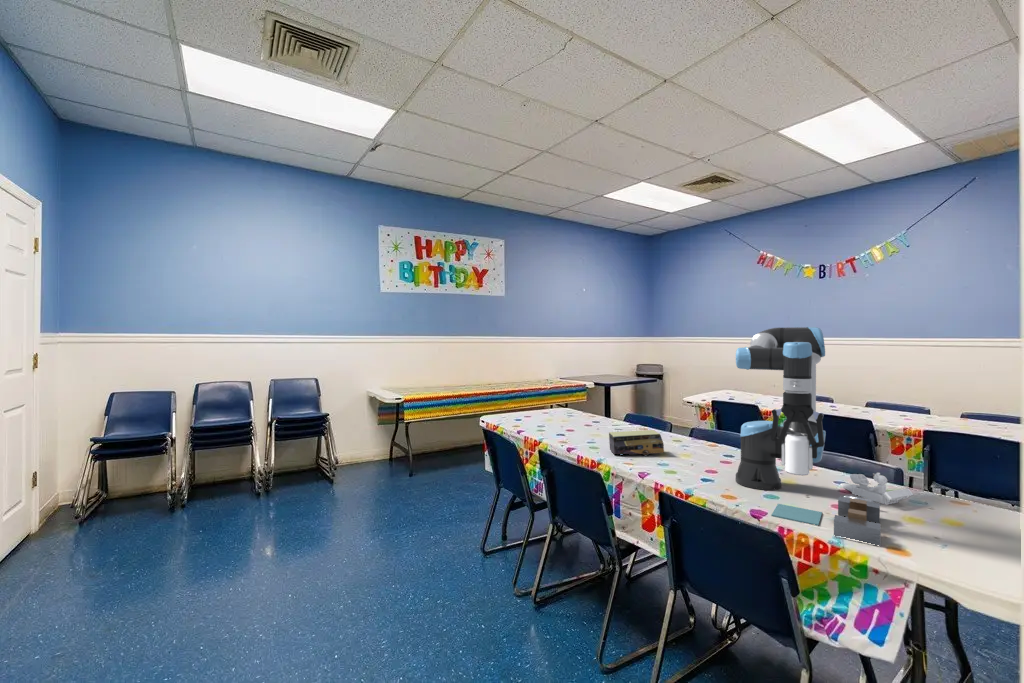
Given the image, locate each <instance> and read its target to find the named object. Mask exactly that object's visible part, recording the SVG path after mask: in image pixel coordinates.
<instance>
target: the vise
mask: <svg viewBox="0 0 1024 683" xmlns="http://www.w3.org/2000/svg"><path fill="white" fill-rule="evenodd" d="M837 500H838V501H837V514H834V517H833V536H834V535H835V536H841V537H846V538H850V539H855V540H859V541H863V542H867V543H871V544H875V545H879V546H880V547H881V535H882V534H881V530H882V528H881V516H880V514H881V512H880V511H881V510H880V509H881V507H880V506H881V505H880V504H881V503H878V502H875V501H873V500H870V499H866V498H863V497H860V496H854V495H844V496H838V499H837ZM844 516H846V517H844ZM869 521H871V522H869ZM875 522H876V523H875Z"/></svg>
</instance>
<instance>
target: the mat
mask: <svg viewBox="0 0 1024 683" xmlns="http://www.w3.org/2000/svg"><path fill="white" fill-rule="evenodd" d="M822 514H823V511H820V510H819V511H818V510H813V509H808V508H804V507H803V508H802V507H799V506H792V505H789V504H788V505H787V504H782V503H777V505H776V506H775V508H774V510H773V512H772V513H771V517H775V518H779V519H784V520H789V521H794V522H799V523H802V522H804V523H803V524H807V523H809V525H812V524H815V525H814V526H817V525H819V526H820V522H821V518H822Z"/></svg>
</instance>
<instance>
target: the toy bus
mask: <svg viewBox="0 0 1024 683" xmlns="http://www.w3.org/2000/svg"><path fill="white" fill-rule="evenodd" d="M608 440H609V441H608V443H609V450H610V451H611V453H613V455H614V454H629V455H643V456H644V455H647V456H648V455H649V454H663V453H665V448H664V445H665V444H664V441H663V438H662V435H661V434H660V433H659V432H657V431H656V430H653V429H649V430H647V429H646V430H644V429H643V430H629V431H628V430H627V431H626V430H625V431H610V432H608Z"/></svg>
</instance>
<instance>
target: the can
mask: <svg viewBox="0 0 1024 683" xmlns="http://www.w3.org/2000/svg"><path fill="white" fill-rule="evenodd" d="M809 447H810V443H809V438H808V435H807V434H805V433H798V432H787V435H786V437H785V465H784V471H785V472H786V473H787V474H790V475H795V476H808V475H809V474H810V472H811V471H810V470H811V469H809Z"/></svg>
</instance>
